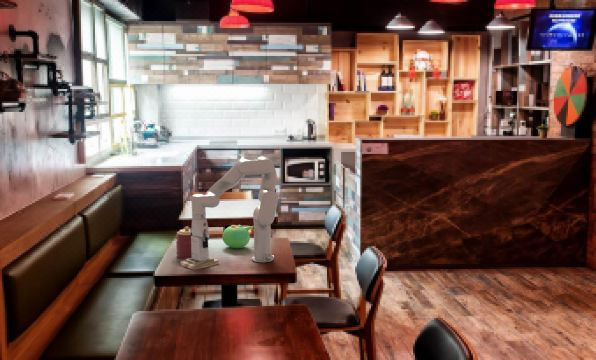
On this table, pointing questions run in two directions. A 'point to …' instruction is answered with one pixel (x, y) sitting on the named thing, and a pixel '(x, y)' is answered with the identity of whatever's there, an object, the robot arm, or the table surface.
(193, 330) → the table surface
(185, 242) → the canister
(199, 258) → the small box
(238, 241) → the green rounded piece
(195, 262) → the maple base
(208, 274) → the table surface
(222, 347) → the table surface
